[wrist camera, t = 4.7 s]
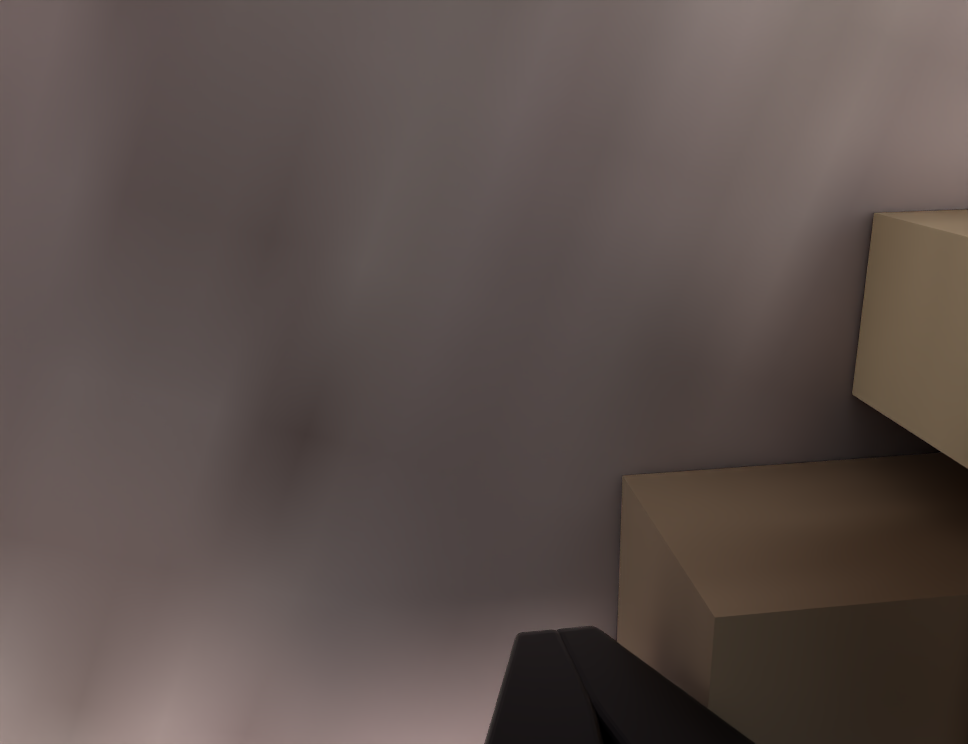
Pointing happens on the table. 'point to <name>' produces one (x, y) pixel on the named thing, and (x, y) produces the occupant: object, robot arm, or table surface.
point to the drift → (805, 595)
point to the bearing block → (918, 326)
